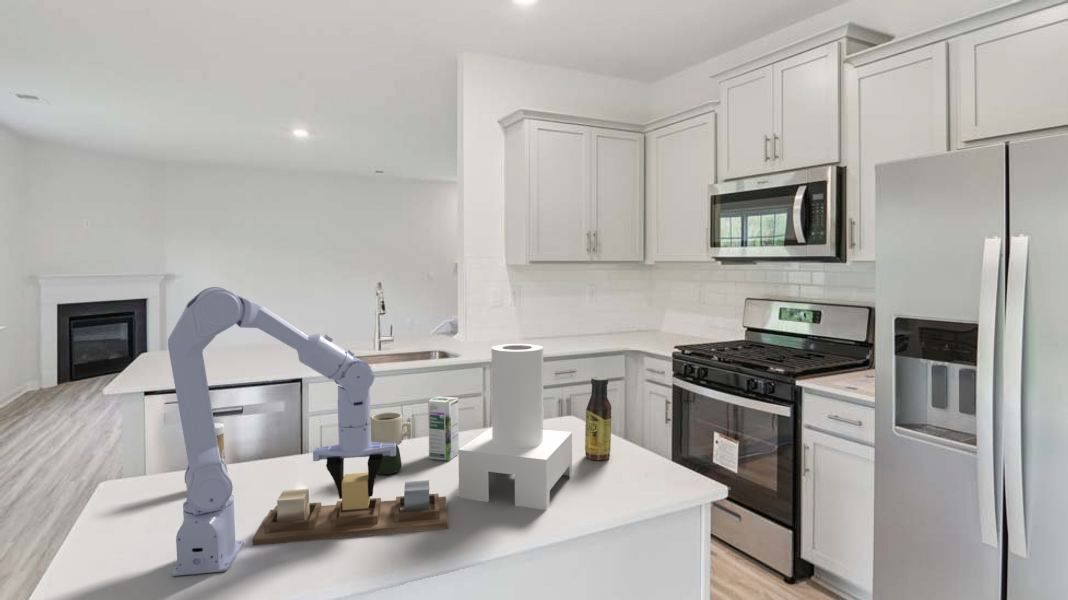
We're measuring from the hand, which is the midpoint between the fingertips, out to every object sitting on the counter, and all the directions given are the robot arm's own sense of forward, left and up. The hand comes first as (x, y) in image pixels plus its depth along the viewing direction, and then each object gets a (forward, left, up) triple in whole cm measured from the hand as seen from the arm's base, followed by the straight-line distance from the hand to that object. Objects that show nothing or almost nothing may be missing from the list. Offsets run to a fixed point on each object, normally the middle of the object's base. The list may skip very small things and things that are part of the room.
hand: (356, 495), depth 108 cm
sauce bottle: (+25, -54, -5) cm, 60 cm away
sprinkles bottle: (+23, +32, -5) cm, 40 cm away
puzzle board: (0, 0, -5) cm, 5 cm away
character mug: (+25, -4, -5) cm, 26 cm away
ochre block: (0, 0, -2) cm, 2 cm away
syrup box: (+33, -17, -5) cm, 37 cm away
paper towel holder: (+11, -32, -5) cm, 34 cm away
